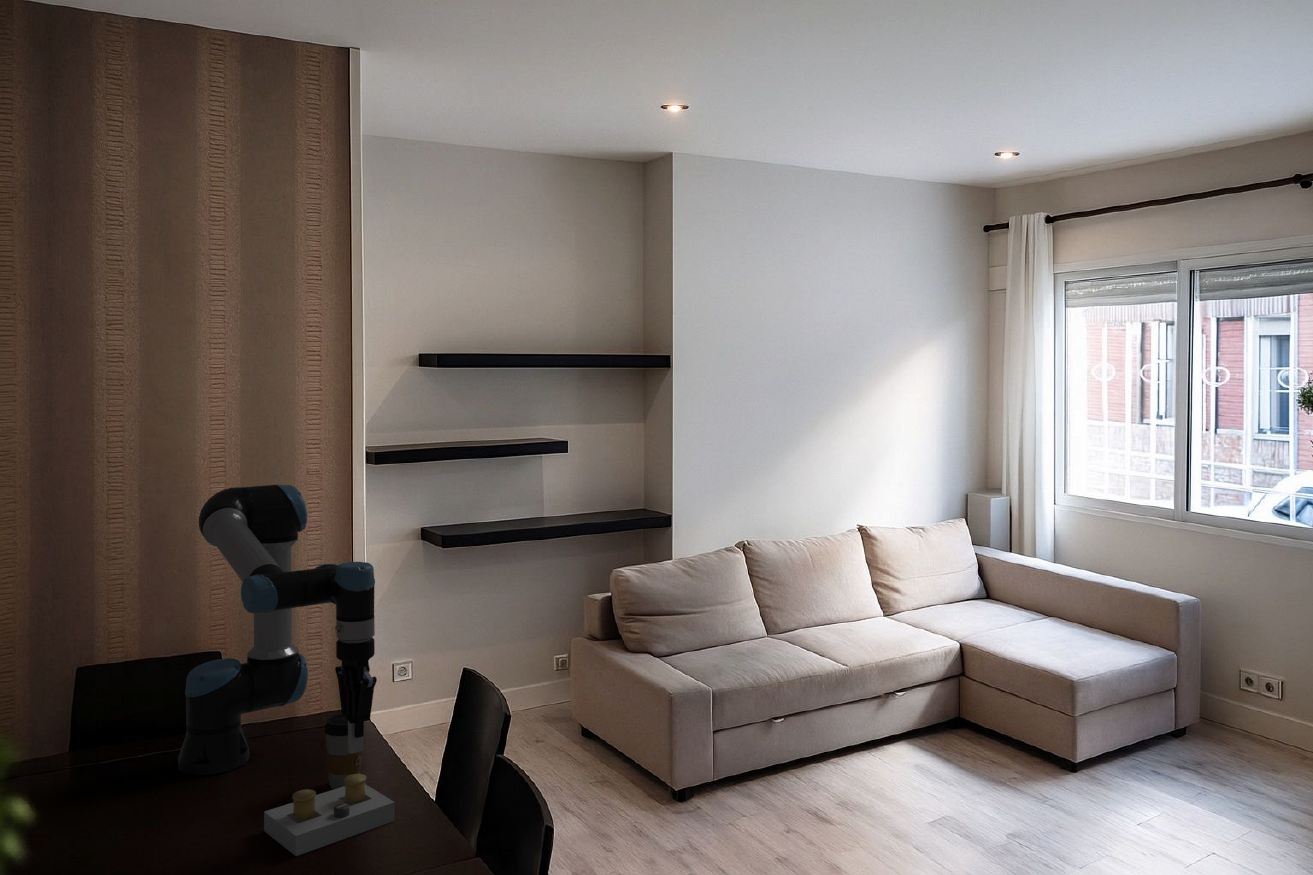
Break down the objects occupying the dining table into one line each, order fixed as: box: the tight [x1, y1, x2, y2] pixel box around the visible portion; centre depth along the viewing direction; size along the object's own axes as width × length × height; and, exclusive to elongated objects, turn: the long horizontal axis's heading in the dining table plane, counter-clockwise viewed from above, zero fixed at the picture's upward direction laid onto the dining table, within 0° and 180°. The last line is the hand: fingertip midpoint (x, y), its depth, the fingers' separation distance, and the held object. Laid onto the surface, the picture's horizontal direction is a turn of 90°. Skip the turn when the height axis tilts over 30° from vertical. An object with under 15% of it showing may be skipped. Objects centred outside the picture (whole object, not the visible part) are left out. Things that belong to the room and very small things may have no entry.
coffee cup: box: [324, 713, 363, 790], centre depth 211 cm, size 8×8×15 cm
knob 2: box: [344, 773, 367, 801], centre depth 196 cm, size 4×4×4 cm
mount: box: [263, 783, 395, 857], centre depth 192 cm, size 14×21×6 cm, turn 136°
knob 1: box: [291, 789, 317, 819], centre depth 188 cm, size 4×4×4 cm
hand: (355, 750), depth 195 cm, fingers closed
